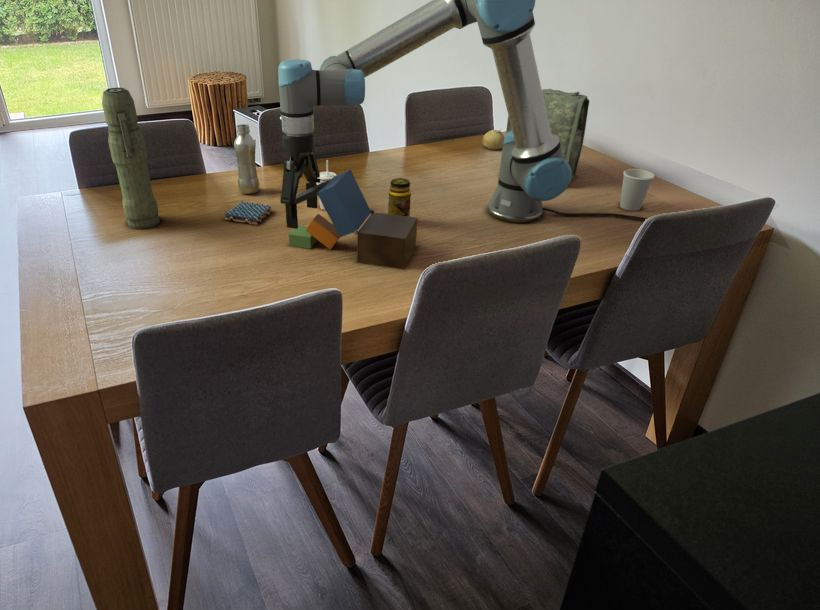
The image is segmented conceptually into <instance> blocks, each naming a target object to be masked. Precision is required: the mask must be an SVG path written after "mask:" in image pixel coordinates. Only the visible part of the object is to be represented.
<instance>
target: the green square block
mask: <svg viewBox="0 0 820 610" xmlns="http://www.w3.org/2000/svg"><path fill="white" fill-rule="evenodd" d="M307 227H308V225H307V226H306V225H299V224H298V228H297V229H294V228H292V230H291V231H290V232H289V233H288V242H289V243H288V244H289V247H297V248H303V249H312V248H313V247H314V245H316V243H317V242H319V241H318V240H317V239H316V238H315V237H313V236H312V235H311V234H309V233H308V232H307V231H306V229H307Z"/></svg>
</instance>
